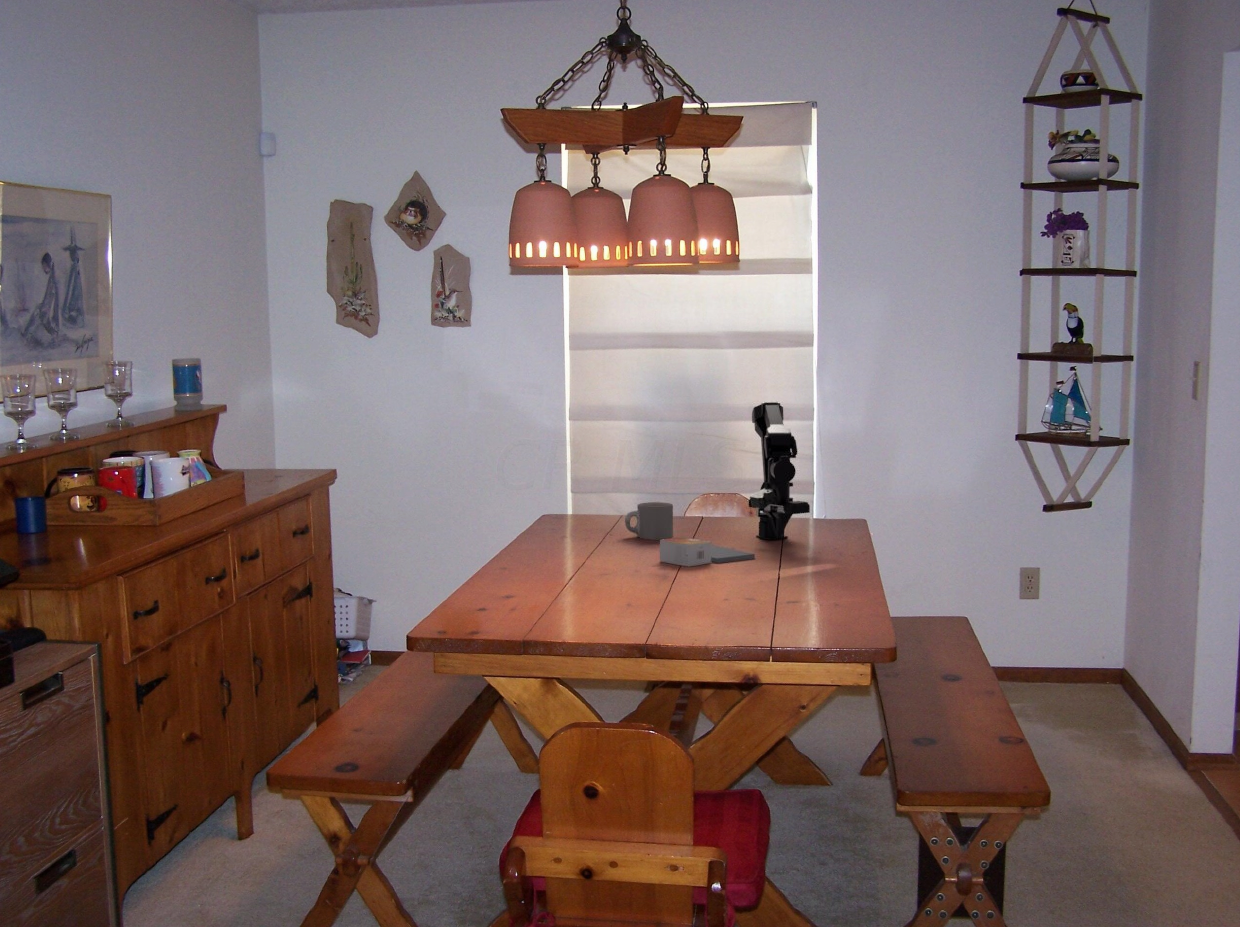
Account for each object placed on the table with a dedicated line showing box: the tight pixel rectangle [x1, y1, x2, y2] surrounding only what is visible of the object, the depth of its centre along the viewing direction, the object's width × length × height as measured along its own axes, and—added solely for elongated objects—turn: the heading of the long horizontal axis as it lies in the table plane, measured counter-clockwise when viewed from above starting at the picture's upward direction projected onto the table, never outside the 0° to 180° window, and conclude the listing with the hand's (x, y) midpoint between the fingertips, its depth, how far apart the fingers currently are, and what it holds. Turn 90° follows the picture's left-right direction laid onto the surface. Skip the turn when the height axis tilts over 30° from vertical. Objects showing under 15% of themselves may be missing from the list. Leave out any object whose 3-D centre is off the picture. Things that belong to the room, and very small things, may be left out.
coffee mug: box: [624, 501, 674, 541], centre depth 325 cm, size 13×10×10 cm
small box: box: [659, 536, 712, 567], centre depth 289 cm, size 8×6×10 cm
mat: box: [711, 544, 756, 564], centre depth 298 cm, size 12×18×1 cm, turn 33°
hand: (778, 536), depth 310 cm, fingers closed
